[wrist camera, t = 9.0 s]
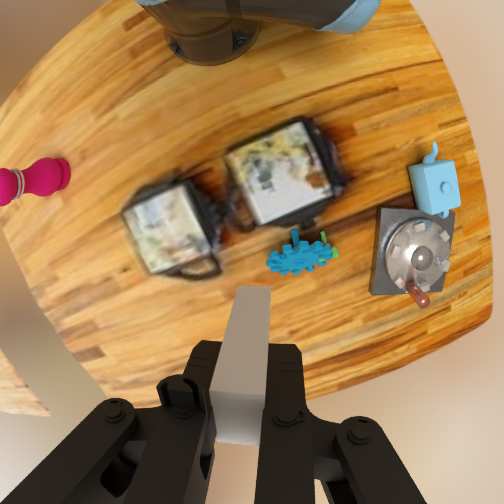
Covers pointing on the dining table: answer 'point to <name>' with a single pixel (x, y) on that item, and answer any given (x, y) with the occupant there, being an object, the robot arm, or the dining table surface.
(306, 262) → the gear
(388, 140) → the dining table surface
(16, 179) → the pepper mill
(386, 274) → the base plate
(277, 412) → the robot arm
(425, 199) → the teapot
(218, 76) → the dining table surface
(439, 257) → the grey rounded piece
